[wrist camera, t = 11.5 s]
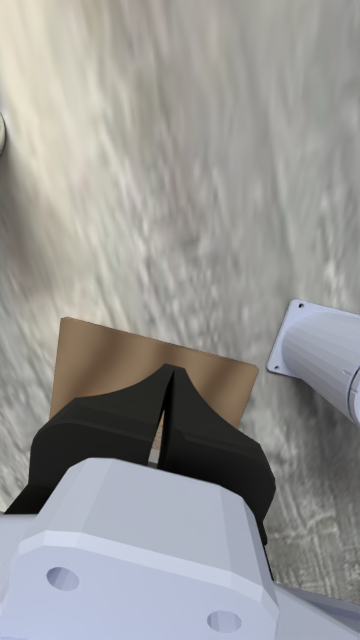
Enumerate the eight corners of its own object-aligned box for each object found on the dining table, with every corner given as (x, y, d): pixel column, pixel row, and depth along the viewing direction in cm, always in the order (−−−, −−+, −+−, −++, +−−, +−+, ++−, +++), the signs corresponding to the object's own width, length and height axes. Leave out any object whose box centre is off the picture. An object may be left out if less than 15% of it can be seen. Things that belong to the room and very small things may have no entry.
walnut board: (255, 365, 20) (258, 369, 19) (211, 487, 24) (212, 496, 23) (67, 316, 21) (60, 318, 20) (51, 445, 24) (45, 451, 23)
